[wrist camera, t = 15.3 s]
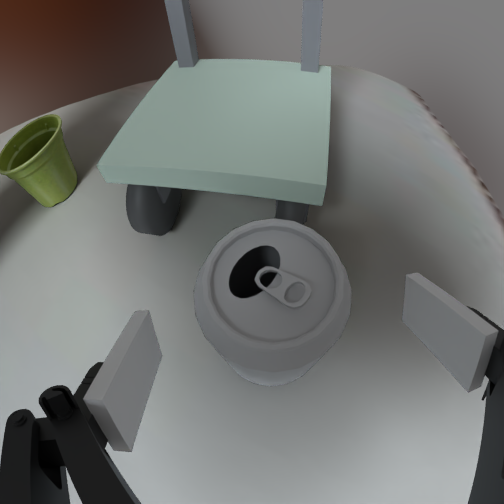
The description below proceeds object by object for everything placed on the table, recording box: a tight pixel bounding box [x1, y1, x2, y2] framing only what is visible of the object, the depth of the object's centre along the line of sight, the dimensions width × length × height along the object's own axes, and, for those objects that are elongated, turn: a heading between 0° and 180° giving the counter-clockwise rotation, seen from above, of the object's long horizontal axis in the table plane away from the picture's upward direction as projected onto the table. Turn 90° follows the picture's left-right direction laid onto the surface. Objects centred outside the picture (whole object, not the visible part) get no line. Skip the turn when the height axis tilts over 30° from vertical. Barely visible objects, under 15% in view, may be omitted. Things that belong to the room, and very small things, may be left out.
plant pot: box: [0, 114, 77, 207], centre depth 29 cm, size 9×9×9 cm
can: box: [194, 218, 352, 386], centre depth 18 cm, size 8×8×12 cm
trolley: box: [97, 0, 331, 236], centre depth 21 cm, size 16×18×23 cm
